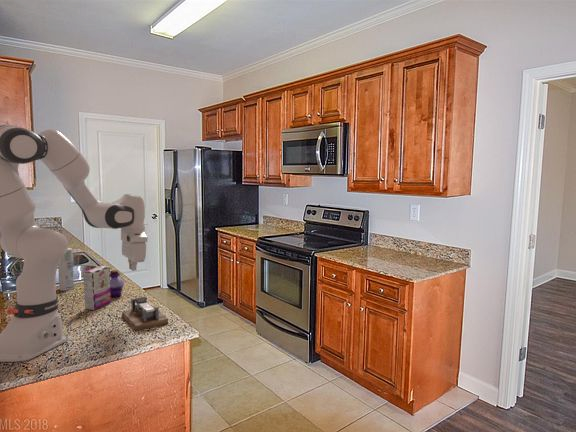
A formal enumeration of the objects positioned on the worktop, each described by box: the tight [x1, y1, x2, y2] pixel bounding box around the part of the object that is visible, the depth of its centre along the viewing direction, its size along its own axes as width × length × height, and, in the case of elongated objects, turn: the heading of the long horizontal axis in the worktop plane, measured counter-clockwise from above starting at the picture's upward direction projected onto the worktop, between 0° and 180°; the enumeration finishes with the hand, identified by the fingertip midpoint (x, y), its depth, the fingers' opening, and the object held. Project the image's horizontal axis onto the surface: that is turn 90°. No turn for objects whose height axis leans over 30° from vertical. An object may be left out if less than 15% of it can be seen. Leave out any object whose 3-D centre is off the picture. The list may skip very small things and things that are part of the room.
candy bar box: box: [82, 265, 112, 311], centre depth 167 cm, size 11×5×16 cm, turn 168°
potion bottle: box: [110, 270, 125, 299], centre depth 181 cm, size 9×9×12 cm
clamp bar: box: [134, 296, 154, 313], centre depth 151 cm, size 14×3×1 cm, turn 38°
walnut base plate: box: [121, 305, 169, 332], centre depth 152 cm, size 18×12×2 cm, turn 38°
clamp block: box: [130, 296, 160, 323], centre depth 151 cm, size 16×6×5 cm, turn 38°
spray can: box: [57, 247, 75, 292], centre depth 191 cm, size 6×6×20 cm
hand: (132, 269), depth 155 cm, fingers closed
